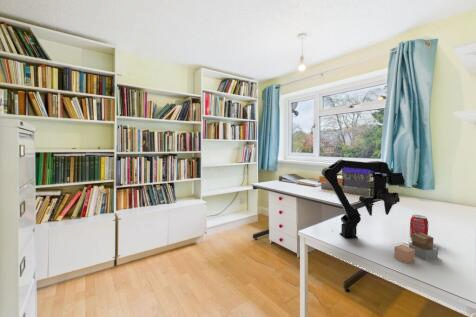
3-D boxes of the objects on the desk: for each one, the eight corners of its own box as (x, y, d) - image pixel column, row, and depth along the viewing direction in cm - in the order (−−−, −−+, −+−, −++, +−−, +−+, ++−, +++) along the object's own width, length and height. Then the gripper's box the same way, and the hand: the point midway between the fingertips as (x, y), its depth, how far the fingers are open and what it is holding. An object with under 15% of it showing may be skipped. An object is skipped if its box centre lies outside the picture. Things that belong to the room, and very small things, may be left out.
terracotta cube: (406, 263, 89) (407, 251, 89) (394, 257, 94) (394, 246, 94) (414, 261, 91) (414, 249, 91) (401, 255, 96) (402, 244, 95)
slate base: (425, 260, 91) (425, 251, 91) (408, 252, 98) (408, 244, 98) (437, 258, 93) (438, 249, 93) (420, 250, 100) (420, 242, 100)
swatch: (416, 249, 100) (416, 248, 100) (403, 242, 107) (403, 241, 107) (430, 248, 101) (430, 247, 101) (416, 241, 108) (416, 240, 108)
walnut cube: (423, 250, 92) (423, 238, 92) (412, 244, 97) (412, 233, 97) (433, 248, 93) (433, 237, 93) (421, 243, 98) (421, 232, 98)
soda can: (418, 237, 113) (420, 214, 113) (431, 242, 106) (432, 218, 106) (405, 236, 113) (407, 214, 113) (417, 242, 106) (418, 218, 106)
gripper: (374, 189, 103) (373, 221, 104) (409, 187, 105) (408, 219, 106) (358, 185, 114) (358, 214, 115) (391, 183, 116) (390, 212, 117)
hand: (378, 215), depth 113 cm, fingers open, 9 cm apart
